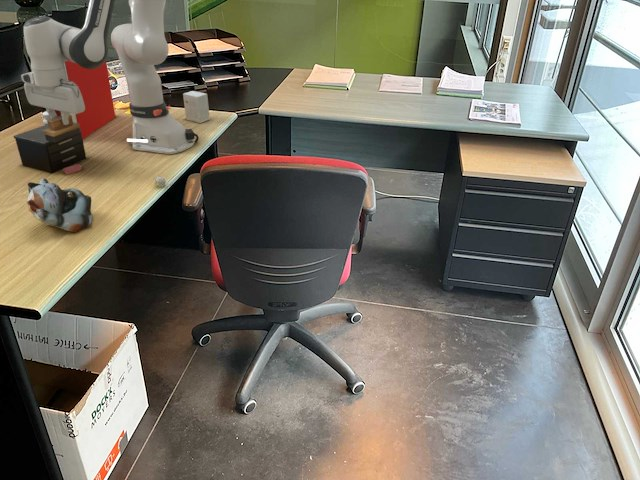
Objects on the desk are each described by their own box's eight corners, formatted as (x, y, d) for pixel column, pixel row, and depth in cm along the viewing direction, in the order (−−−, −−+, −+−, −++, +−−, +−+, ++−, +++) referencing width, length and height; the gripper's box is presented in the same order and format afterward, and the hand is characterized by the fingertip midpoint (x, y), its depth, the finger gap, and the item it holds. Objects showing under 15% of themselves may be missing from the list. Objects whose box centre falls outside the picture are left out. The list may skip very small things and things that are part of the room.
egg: (161, 184, 164) (169, 184, 162) (154, 188, 161) (162, 188, 160) (157, 174, 162) (165, 174, 161) (150, 179, 160) (159, 179, 158)
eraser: (78, 168, 172) (77, 164, 171) (81, 169, 171) (80, 165, 170) (64, 172, 169) (63, 168, 168) (67, 174, 167) (66, 170, 167)
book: (81, 139, 194) (62, 46, 177) (60, 137, 194) (39, 45, 178) (117, 116, 217) (103, 32, 200) (98, 114, 218) (82, 31, 201)
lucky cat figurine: (92, 232, 137) (54, 197, 126) (51, 249, 138) (10, 216, 128) (97, 193, 147) (62, 157, 136) (59, 209, 148) (21, 175, 138)
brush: (81, 133, 169) (77, 114, 166) (55, 143, 162) (50, 123, 159) (71, 130, 171) (67, 112, 168) (45, 140, 163) (40, 121, 160)
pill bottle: (68, 136, 194) (59, 110, 188) (56, 142, 190) (47, 116, 185) (58, 133, 196) (49, 108, 190) (46, 139, 193) (36, 114, 187)
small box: (210, 119, 216) (207, 93, 211) (200, 123, 212) (197, 96, 207) (195, 116, 220) (192, 90, 214) (185, 119, 216) (182, 93, 210)
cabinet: (88, 159, 178) (82, 129, 173) (53, 174, 167) (45, 143, 162) (58, 151, 183) (51, 122, 178) (21, 165, 172) (13, 135, 167)
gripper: (85, 79, 156) (94, 125, 163) (34, 70, 163) (45, 115, 170) (67, 84, 151) (77, 132, 158) (16, 75, 158) (28, 120, 165)
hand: (60, 123), depth 164 cm, fingers closed on brush, 2 cm apart
